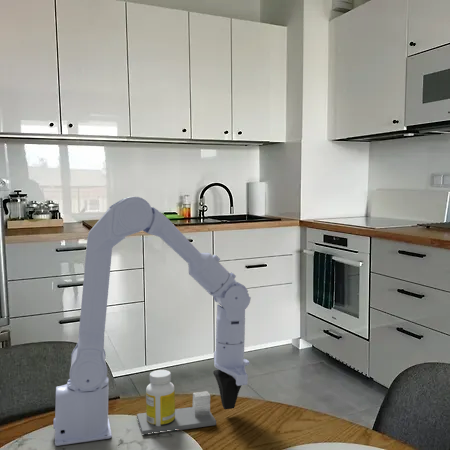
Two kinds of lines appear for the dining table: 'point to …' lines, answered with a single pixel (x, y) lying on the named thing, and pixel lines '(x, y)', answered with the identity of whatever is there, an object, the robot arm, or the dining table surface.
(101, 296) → the robot arm
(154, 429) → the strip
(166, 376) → the supplement bottle
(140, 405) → the dining table surface
